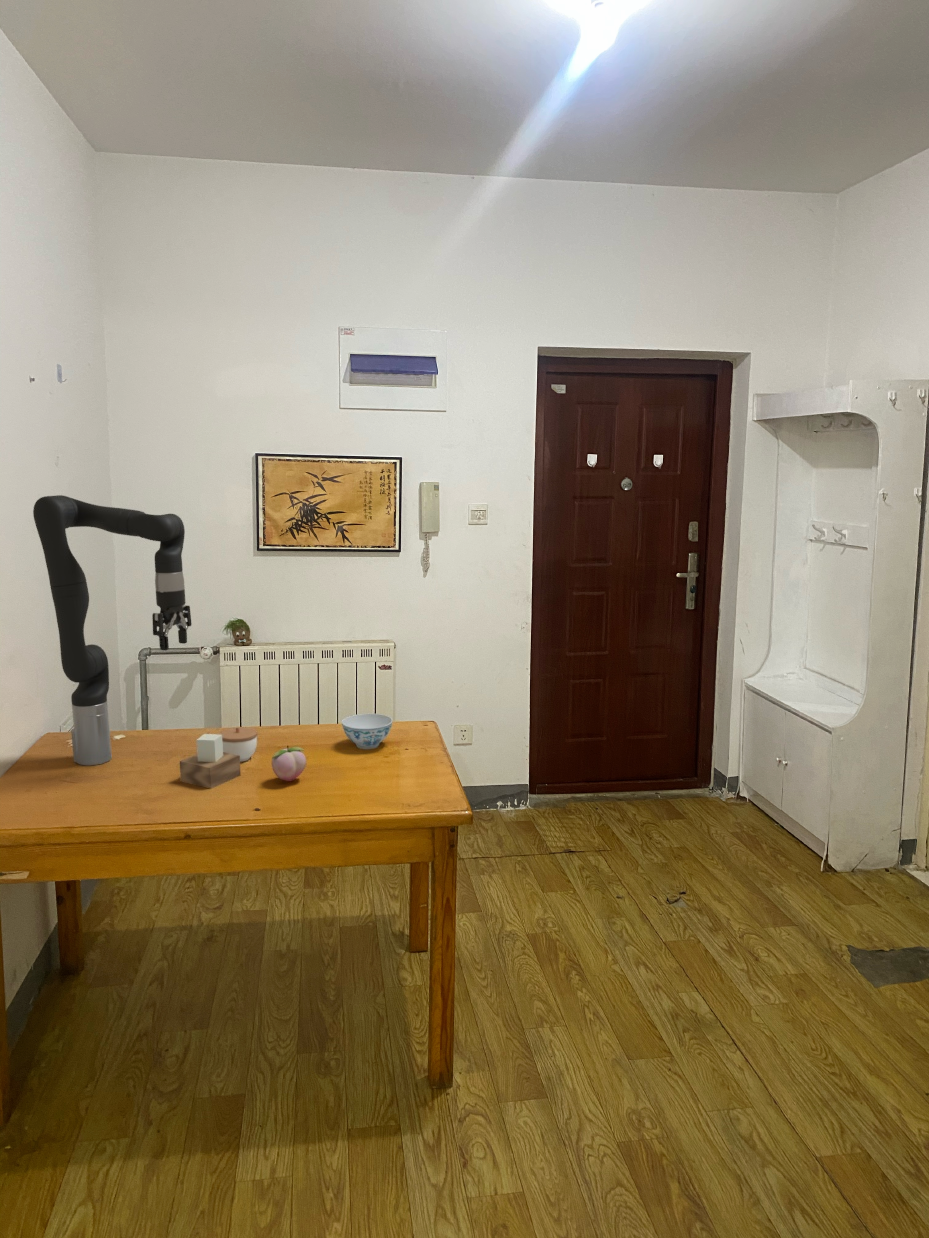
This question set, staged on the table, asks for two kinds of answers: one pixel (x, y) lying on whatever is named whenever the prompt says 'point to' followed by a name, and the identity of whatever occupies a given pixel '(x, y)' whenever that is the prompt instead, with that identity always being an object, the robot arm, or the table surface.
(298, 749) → the decorative fruit
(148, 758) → the table surface
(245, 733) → the lidded jar
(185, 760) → the walnut block
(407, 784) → the table surface
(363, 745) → the chinaware
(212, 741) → the off-white cube
